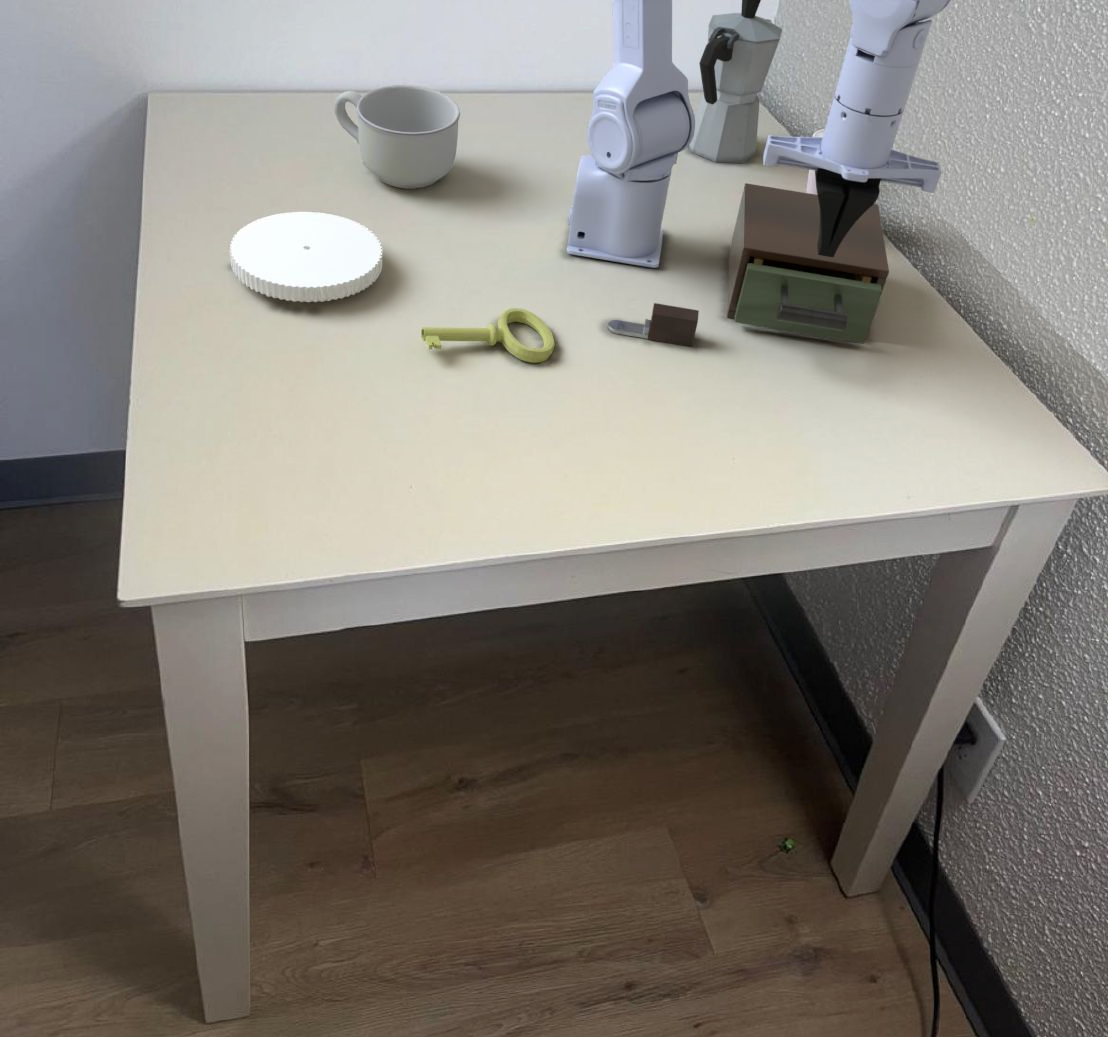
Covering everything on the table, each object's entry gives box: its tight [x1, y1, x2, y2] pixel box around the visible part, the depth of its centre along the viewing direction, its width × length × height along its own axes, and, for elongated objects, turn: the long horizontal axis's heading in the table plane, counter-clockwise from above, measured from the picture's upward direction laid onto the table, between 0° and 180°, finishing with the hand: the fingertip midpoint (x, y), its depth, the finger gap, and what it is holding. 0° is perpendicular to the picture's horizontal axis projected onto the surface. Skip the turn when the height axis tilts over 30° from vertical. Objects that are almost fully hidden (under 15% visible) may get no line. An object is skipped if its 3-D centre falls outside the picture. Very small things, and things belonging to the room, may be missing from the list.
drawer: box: [734, 256, 883, 344], centre depth 112 cm, size 18×12×6 cm
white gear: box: [229, 210, 383, 303], centre depth 110 cm, size 14×14×2 cm
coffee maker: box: [687, 0, 783, 164], centre depth 135 cm, size 15×9×18 cm, turn 144°
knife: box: [607, 302, 700, 348], centre depth 109 cm, size 8×2×3 cm, turn 83°
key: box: [420, 307, 556, 364], centre depth 104 cm, size 7×12×2 cm, turn 126°
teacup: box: [333, 84, 461, 190], centre depth 126 cm, size 14×11×8 cm
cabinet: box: [726, 182, 890, 341], centre depth 116 cm, size 14×14×8 cm
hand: (825, 251), depth 104 cm, fingers closed
